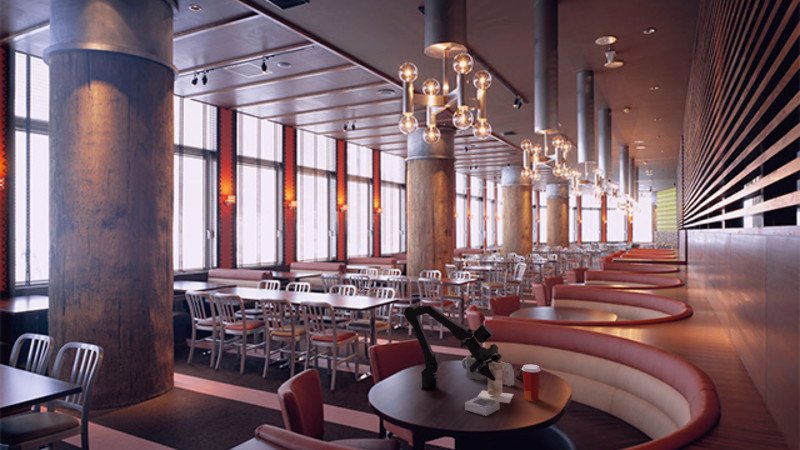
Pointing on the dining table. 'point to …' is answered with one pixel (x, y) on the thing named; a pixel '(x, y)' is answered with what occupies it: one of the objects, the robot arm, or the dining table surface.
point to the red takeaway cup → (520, 373)
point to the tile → (501, 398)
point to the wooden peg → (496, 385)
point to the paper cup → (531, 382)
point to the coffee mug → (470, 375)
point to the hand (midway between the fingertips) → (497, 379)
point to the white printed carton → (507, 374)
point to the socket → (482, 405)
